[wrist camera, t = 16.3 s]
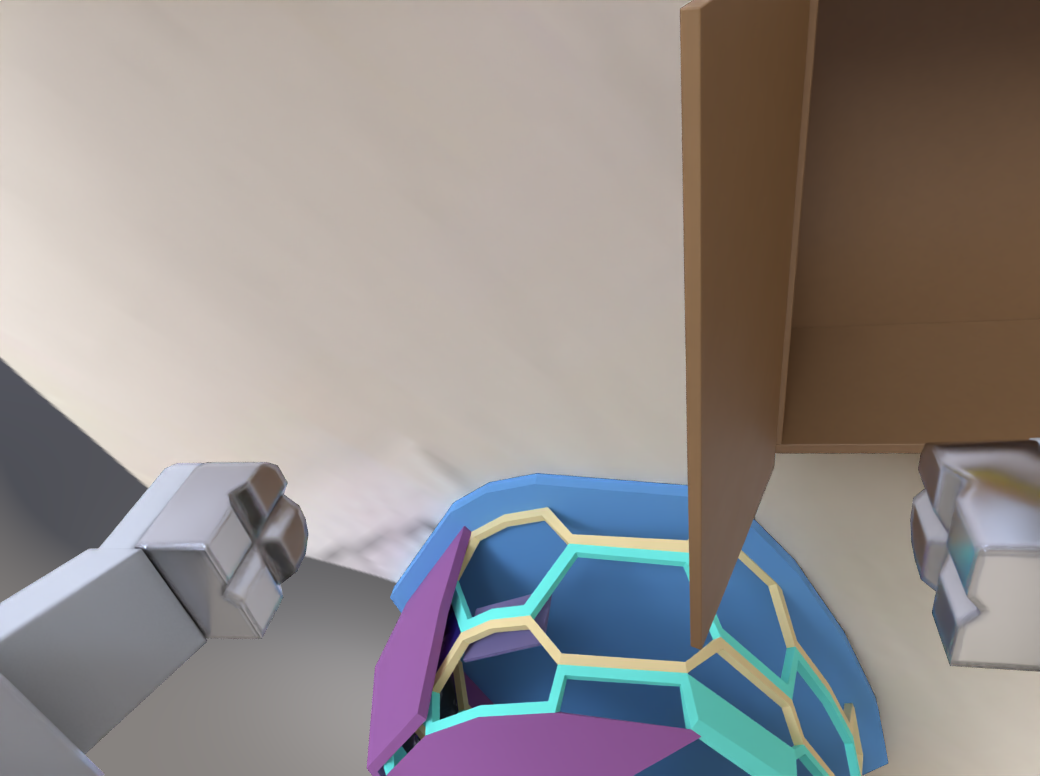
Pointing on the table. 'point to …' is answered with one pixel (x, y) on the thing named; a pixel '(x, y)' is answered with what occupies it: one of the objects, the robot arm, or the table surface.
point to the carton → (915, 229)
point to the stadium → (609, 648)
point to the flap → (735, 265)
